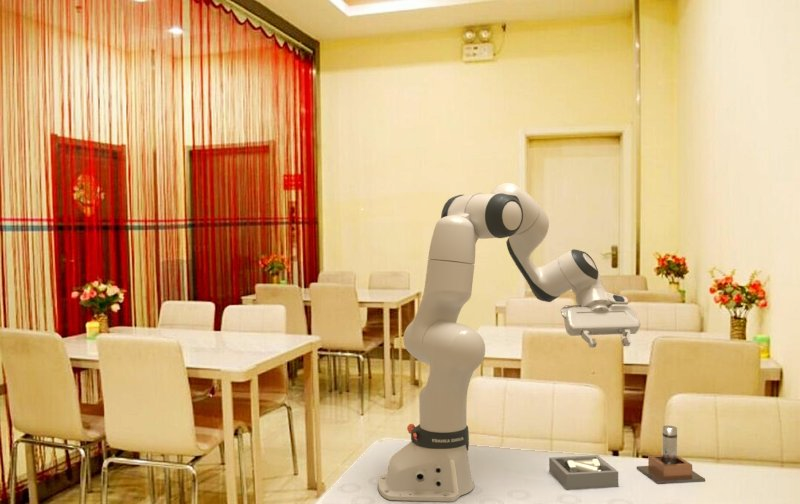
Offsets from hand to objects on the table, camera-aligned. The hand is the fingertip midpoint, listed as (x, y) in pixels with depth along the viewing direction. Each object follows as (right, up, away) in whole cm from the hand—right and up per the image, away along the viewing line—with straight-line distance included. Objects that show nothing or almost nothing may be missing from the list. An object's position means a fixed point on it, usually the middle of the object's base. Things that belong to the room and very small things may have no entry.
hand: (610, 345), depth 168 cm
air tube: (+10, -29, -14) cm, 34 cm away
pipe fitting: (-11, -30, -14) cm, 35 cm away
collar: (+10, -30, -14) cm, 34 cm away
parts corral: (-12, -30, -16) cm, 36 cm away
